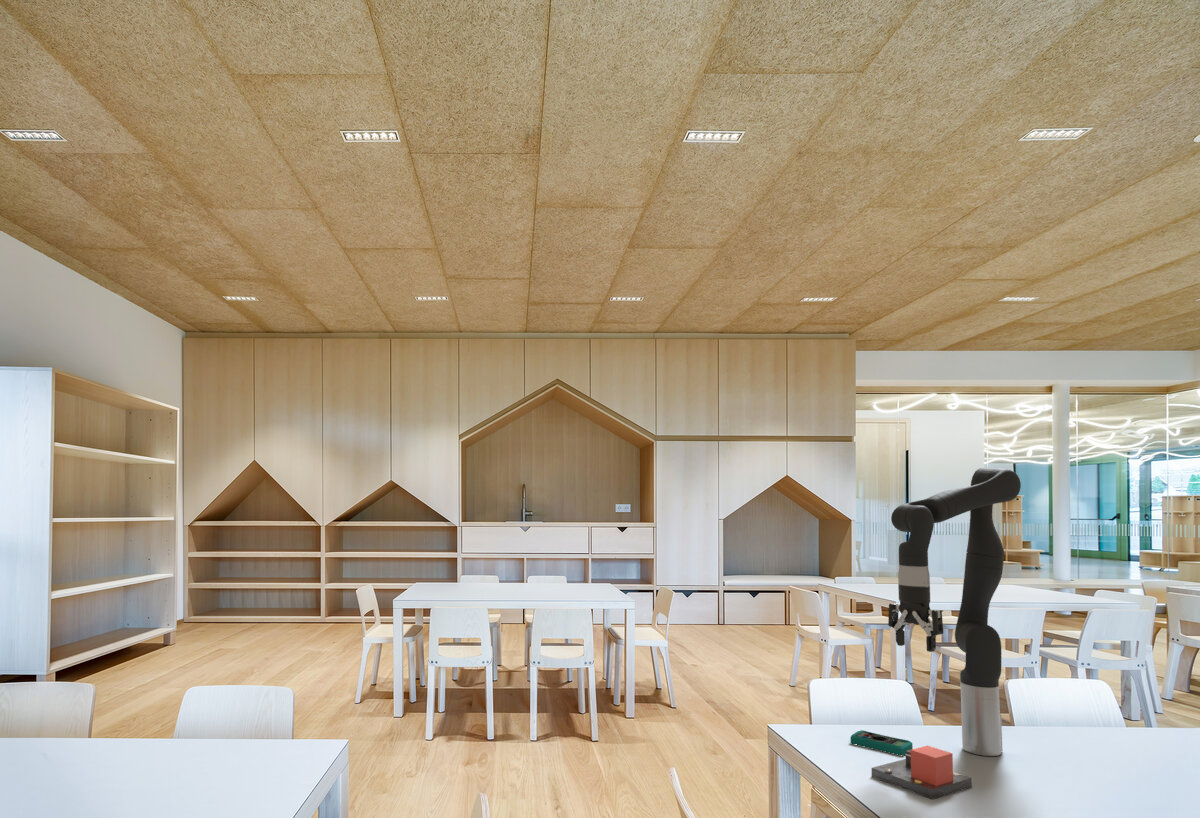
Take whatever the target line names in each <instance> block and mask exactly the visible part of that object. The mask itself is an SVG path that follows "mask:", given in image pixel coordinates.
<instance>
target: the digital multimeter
mask: <svg viewBox="0 0 1200 818" xmlns="http://www.w3.org/2000/svg"><path fill="white" fill-rule="evenodd" d="M851 743H852V744H851ZM850 744H851V745H853V744H857V745H856V746H858V745H860V746H859V747H862V746H865V747H864V748H866V747H869V748H868V749H871V748H873V749H872V750H875V749H878V750H877V751H879V750H882V751H881V752H883V751H886V752H885V753H887V752H890V753H889V754H891V753H894V754H893V755H895V754H898V755H897V756H899V755H904V754H906V752H905V751H908V750H912V749H914V748H913V747H914V746H913V741H910V740H908V739H903V738H898V737H894V736H888V735H885V734H881V733H880V734H879V733H875V732H871V731H866V730H862V729H861V730H858V731H856V732H854V733H853V734H851V736H850ZM904 756H905V755H904Z"/></svg>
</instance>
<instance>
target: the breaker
mask: <svg viewBox="0 0 1200 818" xmlns="http://www.w3.org/2000/svg"><path fill="white" fill-rule="evenodd" d="M905 752H906V754H905V755H904V756H905V759H906V764H907V765H910V766H911V750H908V751H905Z"/></svg>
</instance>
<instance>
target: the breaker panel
mask: <svg viewBox="0 0 1200 818" xmlns="http://www.w3.org/2000/svg"><path fill="white" fill-rule="evenodd" d="M871 778H875V779H877V780H879V781H882V782H885V783H888V784H890V785H892V786H895V787H898V788H901V789H903V790H906V791H909V792H912V793H914V794H917V795H920V796H922V797H925V798H928V799H931V800H935V799H938V798H941V797H944V796H948V795H950V794H954V793H958V792H960V791H963V790H967V789H970V788H972V787H973V779H972V778H973V777H970V776H968V775H964V774H962V773H958V772H955V771H953V781H951V782H948V783H944V784H941V785H938V786H935V785H932V784H929V783H927V782H924V781H922V780H920V779H916V778H913V777H911V766H910V765H907V764H906V758H904V759H900V760H897V761H893V762H889V763H885V764H884V763H883V764H880V765H877V766H872V767H871Z"/></svg>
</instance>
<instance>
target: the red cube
mask: <svg viewBox="0 0 1200 818" xmlns="http://www.w3.org/2000/svg"><path fill="white" fill-rule="evenodd" d="M953 761H954V757H953V752H949V751H946V750H943V749H939V748H937V747H934V746H931V745H925V746H921V747H916V748H913V749H912V750H911V777H913V778H916V779H920V780H922V781H924V782H927V783H929V784H932V785H935V786H938V785H941V784H944V783H948V782H951V781H953V772H954V764H953Z"/></svg>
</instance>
